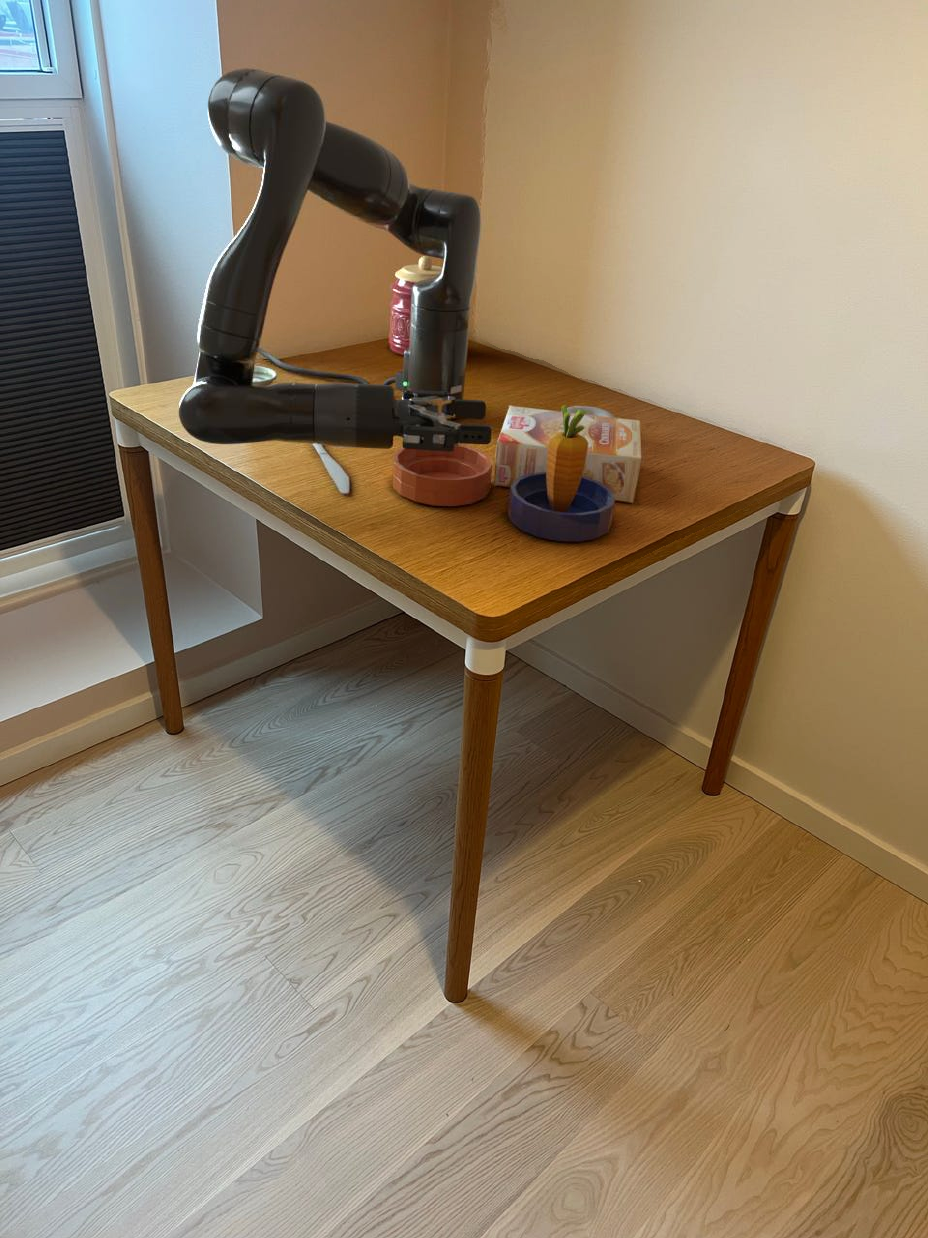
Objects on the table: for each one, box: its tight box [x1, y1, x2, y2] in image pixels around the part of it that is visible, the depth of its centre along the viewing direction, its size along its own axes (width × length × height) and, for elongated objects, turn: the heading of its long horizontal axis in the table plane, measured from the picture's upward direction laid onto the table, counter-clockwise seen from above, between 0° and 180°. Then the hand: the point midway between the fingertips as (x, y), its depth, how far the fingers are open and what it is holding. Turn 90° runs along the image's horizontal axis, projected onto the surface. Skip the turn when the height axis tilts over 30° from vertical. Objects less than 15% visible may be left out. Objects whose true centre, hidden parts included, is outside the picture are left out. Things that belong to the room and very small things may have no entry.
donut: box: [560, 405, 616, 418], centre depth 146 cm, size 10×4×10 cm
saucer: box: [252, 365, 278, 386], centre depth 154 cm, size 10×10×2 cm
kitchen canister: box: [388, 255, 443, 356], centre depth 176 cm, size 13×13×18 cm
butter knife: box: [312, 443, 350, 495], centre depth 131 cm, size 1×27×3 cm
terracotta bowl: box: [392, 443, 493, 507], centre depth 124 cm, size 13×13×4 cm
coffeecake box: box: [493, 404, 642, 504], centre depth 130 cm, size 15×7×20 cm
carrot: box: [546, 404, 588, 512], centre depth 115 cm, size 5×5×15 cm
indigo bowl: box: [507, 472, 616, 543], centre depth 118 cm, size 13×13×4 cm
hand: (488, 421), depth 111 cm, fingers open, 8 cm apart
